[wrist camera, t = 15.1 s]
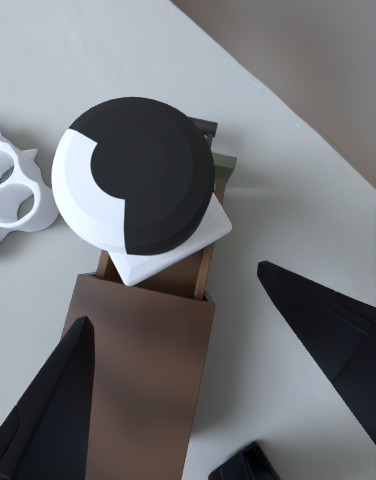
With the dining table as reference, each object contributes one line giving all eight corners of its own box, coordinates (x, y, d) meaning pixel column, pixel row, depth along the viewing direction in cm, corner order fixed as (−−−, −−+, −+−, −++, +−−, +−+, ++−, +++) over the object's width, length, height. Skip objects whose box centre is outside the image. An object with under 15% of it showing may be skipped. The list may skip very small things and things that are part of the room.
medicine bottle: (179, 175, 19) (171, 34, 7) (216, 240, 18) (274, 205, 6) (113, 210, 19) (-16, 121, 7) (148, 277, 18) (77, 313, 6)
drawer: (145, 126, 24) (136, 94, 20) (233, 144, 24) (244, 118, 20) (105, 284, 22) (85, 290, 18) (200, 304, 22) (204, 316, 18)
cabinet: (106, 270, 23) (77, 274, 17) (207, 292, 23) (215, 304, 17) (68, 416, 22) (22, 479, 15) (177, 440, 22) (174, 513, 15)
